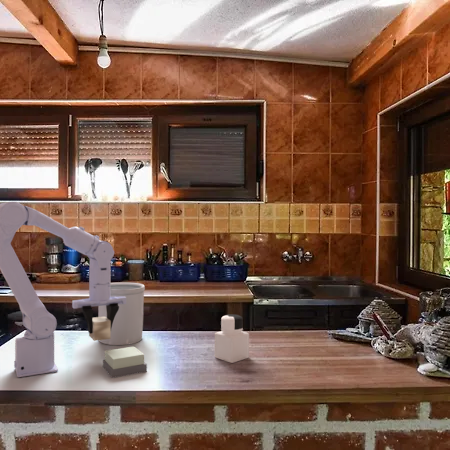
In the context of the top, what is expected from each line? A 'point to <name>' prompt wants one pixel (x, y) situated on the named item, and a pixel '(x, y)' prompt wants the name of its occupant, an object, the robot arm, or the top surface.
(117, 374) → the tower base
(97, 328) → the birch block
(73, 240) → the robot arm
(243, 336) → the medicine bottle
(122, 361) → the tower top
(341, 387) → the top surface
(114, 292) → the utensil holder
